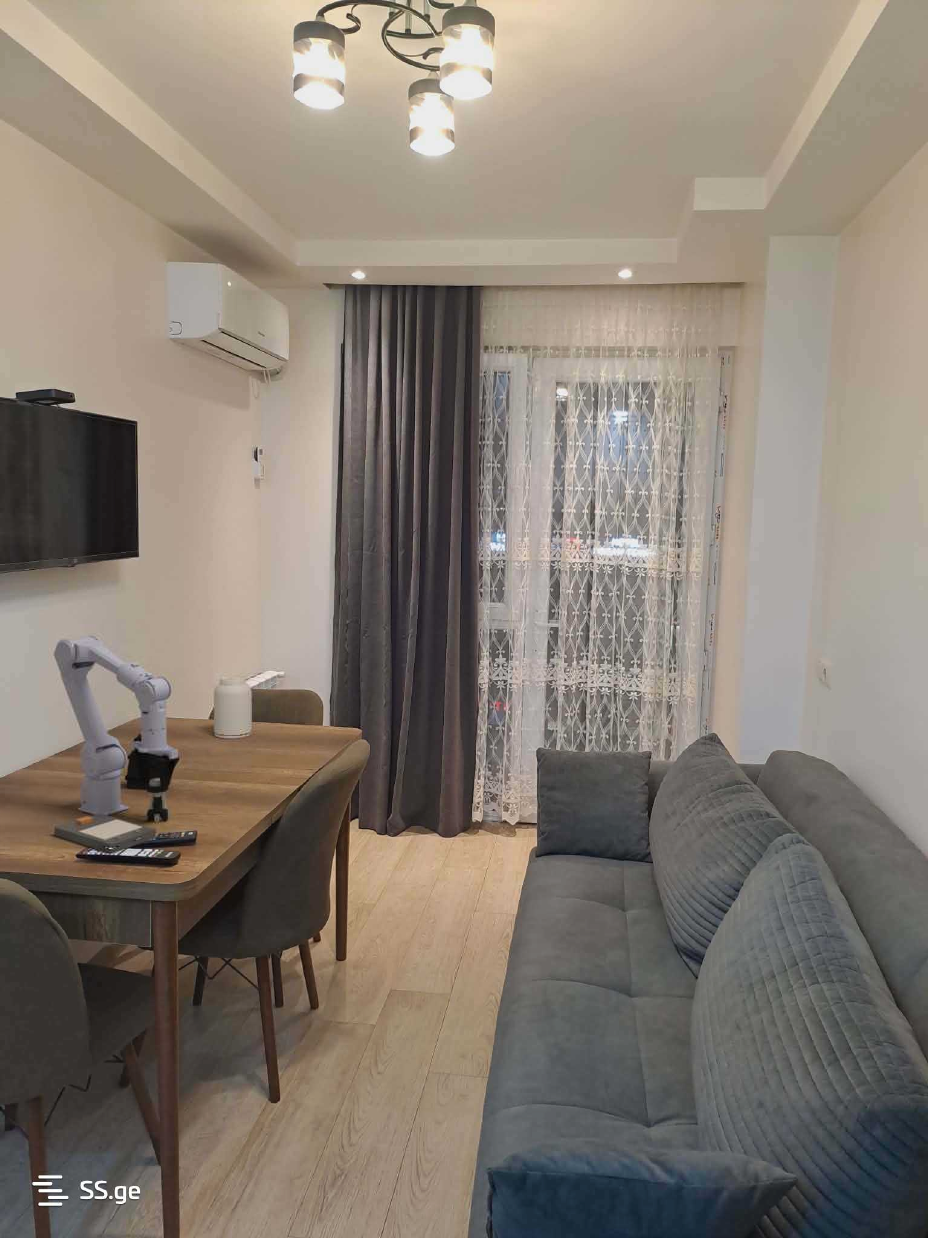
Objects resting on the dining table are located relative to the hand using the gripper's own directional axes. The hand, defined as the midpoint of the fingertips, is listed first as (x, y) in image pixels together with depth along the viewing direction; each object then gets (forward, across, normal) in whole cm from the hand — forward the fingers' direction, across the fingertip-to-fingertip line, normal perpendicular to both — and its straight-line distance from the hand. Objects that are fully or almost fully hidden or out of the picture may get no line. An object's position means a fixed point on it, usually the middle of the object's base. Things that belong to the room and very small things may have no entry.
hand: (154, 783), depth 214 cm
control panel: (+9, 0, -14) cm, 17 cm away
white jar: (+9, -50, +74) cm, 90 cm away
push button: (+9, 0, 0) cm, 9 cm away
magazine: (+9, -22, +17) cm, 29 cm away
